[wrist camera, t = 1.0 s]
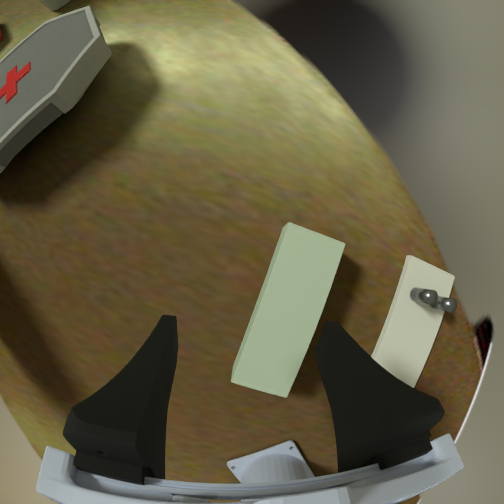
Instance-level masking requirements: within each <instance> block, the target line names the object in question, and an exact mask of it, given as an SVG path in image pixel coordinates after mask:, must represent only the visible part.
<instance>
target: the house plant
mask: <svg viewBox="0 0 504 504" xmlns="http://www.w3.org/2000/svg"><path fill="white" fill-rule="evenodd" d="M39 1H40V2H41V3H42V4H44V5H45V6H46V7H47V8H49V9H50V10H51V11H55V10H57V9H59V8H61V7H62V6H64V5H65V4H66V3H68V2H69V1H70V0H39Z"/></svg>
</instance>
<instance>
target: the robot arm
mask: <svg viewBox="0 0 504 504" xmlns="http://www.w3.org/2000/svg"><path fill="white" fill-rule="evenodd" d="M315 352H316V358H317V363H318V368H319V371H320V375H321V378H322V381H323V384H324V387H325V390H326V393H327V396H328V400H329V403H330V407H331V411H332V417H333V422H334V429H335V436H336V445H337V458H338V473H335V474H330V475H325V476H319V477H315V476H314V474H313V473H312V471H311V470H310V468H309V466H308V465H307V463H306V461H305V460H304V458H303V456H302V455H301V453H300V451H299V450H298V448H297V446H296V445H295V443H294V442H293V441H292V440H289V441H286V442H284V443H281V444H278V445H276V446H273V447H270V448H268V449H265V450H262V451H259V452H256V453H253V454H250V455H247V456H244V457H240V458H237V459H234V460H230V461H228V462H227V466H228V467H229V469H230V470H231V471H232V472H233V474H234V475H235V476H236V477H237V479H238V480H239V481H240V482H241V484H215V483H195V482H183V481H173V480H165V441H166V423H167V410H168V403H169V398H170V393H171V388H172V383H173V378H174V373H175V369H176V363H177V353H178V336H177V320H176V316H170V315H163V316H161V318H160V320H159V322H158V323H157V325H156V327H155V328H154V330H153V331H152V333H151V334H150V336H149V337H148V339H147V340H146V341H145V343H144V344H143V346H142V347H141V348H140V349H139V351H138V352H137V353H136V354H135V356H134V357H133V358H132V359H131V360H130V362H129V363H128V364H127V365H126V366H125V367H124V368H123V369H122V370H121V371H120V372H119V373H118V374H117V375H116V376H115V377H114V378H113V379H112V380H110V381H109V382H108V383H107V384H106V385H105V386H103V387H102V388H101V389H99V390H98V391H97V392H95V393H94V394H93V395H91V396H90V397H88V398H87V399H85V400H83V401H82V402H80V403H79V404H77V405H75V406H73V407H72V409H71V411H70V413H69V415H68V417H67V420H66V423H65V427H64V430H63V436H64V437H65V439H66V440H67V441H68V442H69V443H70V444H71V445H72V446H73V447H74V448H75V449H76V450H77V451H76V455H75V456H74V455H72V454H70V453H67V452H65V451H62V450H59V449H56V448H54V447H51V446H46V450H45V453H44V457H43V461H42V465H41V469H40V473H39V477H38V482H37V487H36V491H37V492H38V493H40V494H42V495H44V496H46V497H47V498H49V499H51V500H53V501H55V502H58V503H59V504H397V503H399V502H402V501H404V500H406V499H409V498H411V497H413V496H415V495H417V494H420V493H422V492H424V491H426V490H428V489H430V488H432V487H434V486H436V485H438V484H439V483H441V482H443V481H444V480H446V479H448V478H449V477H451V476H453V475H454V474H456V473H457V472H459V471H460V470H462V469H463V468H464V465H463V462H462V460H461V458H460V455H459V453H458V451H457V448H456V446H455V444H454V442H453V440H452V437H451V435H450V433H448V434H445V435H443V436H441V437H439V438H436V439H434V440H432V441H431V442H430V441H429V439H428V438H429V437H430V436H431V434H430V431H429V430H430V429H431V428H432V427H433V426H434V425H435V424H436V423H438V422H439V421H440V419H441V418H442V417H443V415H444V412H445V411H444V410H443V408H442V406H441V404H440V402H439V400H438V399H437V398H434V397H432V396H430V395H427V394H425V393H423V392H421V391H419V390H417V389H415V388H413V387H411V386H409V385H408V384H406V383H404V382H403V381H401V380H400V379H398V378H397V377H395V376H394V375H392V374H391V373H390V372H388V371H387V370H386V369H384V368H383V367H382V366H381V365H380V364H378V363H377V362H376V361H375V360H374V359H373V358H372V357H371V356H370V355H369V354H367V353H366V352H365V351H364V350H363V349H362V348H361V347H360V346H359V344H358V343H357V342H356V341H355V340H354V339H353V338H352V337H351V336H350V335H349V334H348V333H347V332H346V331H345V330H344V328H343V327H342V326H341V325H340V324H339V323H338V322H326V323H325V325H324V328H323V331H322V333H321V336H320V339H319V341H318V344H317V346H316V349H315ZM290 447H293V448H290ZM232 466H234V467H232ZM207 499H212V500H241V502H227V503H210V501H209V500H207Z"/></svg>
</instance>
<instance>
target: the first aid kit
mask: <svg viewBox="0 0 504 504" xmlns="http://www.w3.org/2000/svg"><path fill="white" fill-rule="evenodd" d="M99 25H100V23H99V21H98V19H97V18H96V16H95V14H94V13H93V11H92V9H91V8H90V6H86V7H83V8H80V9H77V10H74V11H71V12H68V13H66V14H63V15H60V16H58V17H55V18H52V19H50V20H48V21H46V22H44V23H43V24H42V25H40V26H39V27H38V28H37V29H35V30H34V31H33V32H32V33H30V34H29V35H28V36H27V37H26V38H24V39H23V40H22V41H21V42H20V43H19V44H17V45H16V46H15V47H14V48H13V49H12V50H11V51H10V52H9V53H8V54H7V55H6V56H4V57H3V58H2V59H1V60H0V173H1V172H2V171H3V170H4V169H5V168H6V166H7V165H8V164H9V162H10V161H11V160H12V159H13V157H14V156H15V155H16V154H17V153H18V152H19V151H20V150H22V149H23V148H24V147H25V146H26V145H27V144H28V143H29V142H30V141H31V140H32V139H33V138H34V137H35V136H36V135H38V134H39V133H40V132H41V131H42V130H43V129H44V128H46V127H47V126H48V125H49V124H50V123H52V122H53V121H54V120H55V119H56V118H58V117H59V116H60V115H61V114H63V113H67V112H68V111H69V110H71V109H72V108H73V107H74V106H75V105H76V103H77V102H78V101H79V100H80V99H81V98H82V96H83V95H84V93H85V91H86V90H87V88H88V87H89V85H90V84H91V82H92V81H93V80H94V78H95V77H96V75H97V74H98V72H99V71H100V70H101V68H102V67H103V66H104V64H105V63H106V62H107V60H108V59H109V58H110V56H111V55H112V52H111V50H110V49H109V47H108V45H107V44H106V42H105V40H104V37H103V35H102V32H101V30H100V27H99Z"/></svg>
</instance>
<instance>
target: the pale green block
mask: <svg viewBox="0 0 504 504" xmlns="http://www.w3.org/2000/svg"><path fill="white" fill-rule="evenodd" d="M344 246H345V243H343V242H340V241H338V240H335V239H332V238H330V237H327V236H325V235H322V234H319V233H317V232H314V231H311V230H309V229H306V228H303V227H301V226H298V225H295V224H292V223H290V222H288V223H287V224H286V225H285V226H284V227H283V229H282V232H281V235H280V238H279V241H278V244H277V246H276V249H275V252H274V255H273V258H272V261H271V264H270V266H269V269H268V272H267V275H266V278H265V281H264V283H263V286H262V289H261V292H260V294H259V297H258V300H257V303H256V306H255V308H254V311H253V314H252V317H251V319H250V322H249V325H248V328H247V330H246V333H245V336H244V338H243V341H242V344H241V346H240V349H239V352H238V355H237V357H236V360H235V363H234V365H233V370H232V378H231V382H233V383H236V384H239V385H243V386H246V387H249V388H253V389H256V390H259V391H263V392H267V393H270V394H274V395H278V396H282V397H286V398H287V395H288V393H289V391H290V389H291V387H292V384H293V382H294V380H295V378H296V375H297V373H298V371H299V368H300V366H301V364H302V361H303V359H304V357H305V354H306V352H307V349H308V347H309V344H310V342H311V339H312V337H313V334H314V332H315V329H316V327H317V324H318V321H319V319H320V316H321V313H322V311H323V308H324V305H325V303H326V300H327V297H328V294H329V291H330V289H331V286H332V283H333V280H334V277H335V274H336V271H337V268H338V265H339V262H340V259H341V256H342V253H343V249H344Z"/></svg>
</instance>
